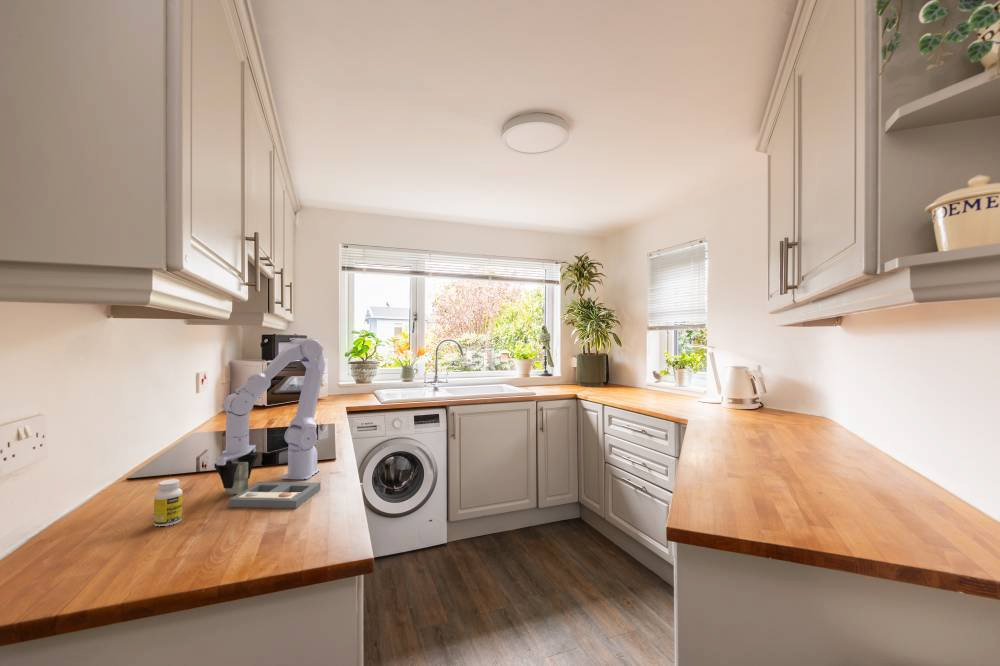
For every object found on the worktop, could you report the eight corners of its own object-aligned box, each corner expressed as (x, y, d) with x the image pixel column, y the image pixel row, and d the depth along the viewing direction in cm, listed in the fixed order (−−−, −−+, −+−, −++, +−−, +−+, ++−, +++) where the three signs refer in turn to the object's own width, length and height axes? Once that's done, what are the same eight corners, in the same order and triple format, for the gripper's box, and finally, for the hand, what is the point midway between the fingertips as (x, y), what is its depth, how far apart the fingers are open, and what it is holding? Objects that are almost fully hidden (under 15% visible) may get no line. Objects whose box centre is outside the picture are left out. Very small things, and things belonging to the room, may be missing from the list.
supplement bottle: (166, 528, 101) (167, 486, 101) (147, 526, 102) (148, 484, 102) (187, 519, 106) (188, 478, 106) (169, 517, 107) (170, 477, 107)
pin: (234, 489, 127) (234, 461, 127) (247, 489, 127) (248, 462, 127) (225, 494, 123) (225, 465, 123) (239, 494, 123) (239, 466, 123)
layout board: (260, 488, 128) (260, 479, 128) (320, 489, 127) (320, 481, 127) (228, 507, 114) (228, 497, 114) (296, 508, 113) (296, 498, 113)
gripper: (239, 430, 133) (239, 475, 132) (205, 441, 118) (205, 492, 118) (262, 430, 132) (262, 475, 132) (231, 442, 118) (230, 492, 118)
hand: (236, 483), depth 125 cm, fingers open, 7 cm apart
